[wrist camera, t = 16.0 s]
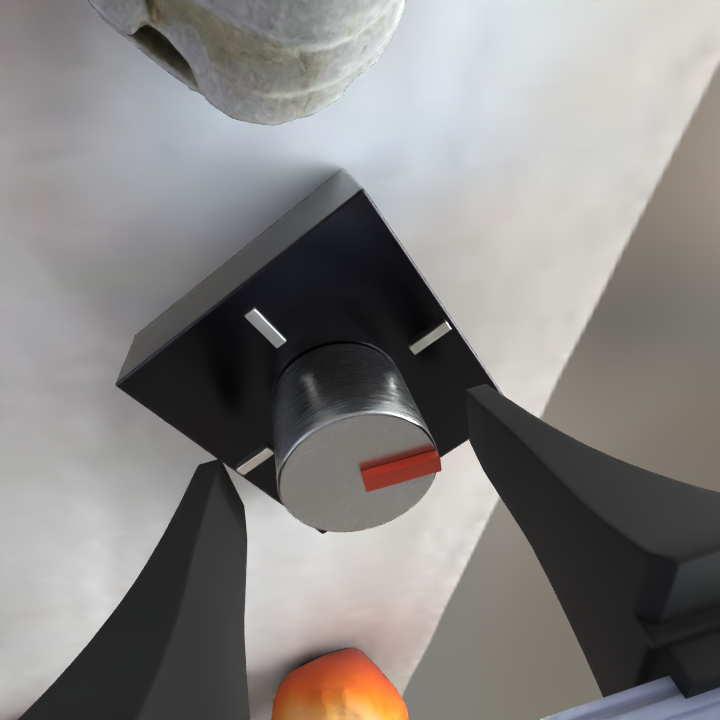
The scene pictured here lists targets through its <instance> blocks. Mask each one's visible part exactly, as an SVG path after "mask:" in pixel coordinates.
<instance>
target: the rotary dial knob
mask: <svg viewBox="0 0 720 720" xmlns="http://www.w3.org/2000/svg"><path fill="white" fill-rule="evenodd" d="M271 411H272V424H273V437H274V450H275V464H276V477H277V488H278V493H279V497H280V499H281V501H282V503H283V505H284V507H285V508H286V509H287V510H288V512H289V513H290V514H291V515H292V516H293V517H295V518H296V519H297V520H299V521H300V522H302V523H304V524H306V525H308V526H310V527H313V528H316V529H320V530H324V531H331V532H354V531H360V530H365V529H369V528H373V527H376V526H379V525H382V524H385V523H387V522H389V521H391V520H393V519H395V518H397V517H399V516H401V515H402V514H404V513H405V512H407V511H408V510H409V509H410V508H412V507H413V506H414V505H415V504H416V503H417V502H418V501H419V500H420V499H421V498H422V497H423V496H424V495H425V493H426V492H427V491H428V489H429V488H430V486H431V484H432V482H433V480H434V478H435V475H436V472H439V471H441V461H440V456H439V454H438V452H437V448H436V445H435V442H434V440H433V438H432V436H431V434H430V432H429V430H428V428H427V426H426V424H425V422H424V420H423V418H422V416H421V414H420V412H419V410H418V408H417V406H416V404H415V402H414V400H413V398H412V396H411V394H410V392H409V390H408V388H407V386H406V384H405V382H404V380H403V378H402V376H401V374H400V372H399V370H398V369H397V367H396V366H395V364H394V363H393V362H392V361H391V360H390V359H389V358H388V357H386V356H385V355H384V354H382V353H380V352H379V351H377V350H374V349H372V348H370V347H366V346H363V345H357V344H333V345H328V346H324V347H321V348H318V349H315V350H313V351H311V352H308V353H306V354H305V355H303V356H301V357H300V358H298V359H297V360H296V361H295V362H293V363H292V364H291V365H290V366H289V367H288V368H287V369H286V370H285V371H284V373H283V374H282V375H281V377H280V378H279V380H278V382H277V383H276V386H275V388H274V391H273V395H272V401H271Z"/></svg>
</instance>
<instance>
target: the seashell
mask: <svg viewBox="0 0 720 720" xmlns="http://www.w3.org/2000/svg"><path fill="white" fill-rule="evenodd" d="M88 2H89V3H90V5H91V6H92V8H93V9H94V10H95V11H96V12H97V13H98V14H99V15H100V16H101V17H102V18H103V19H104V20H105V21H106V22H107V23H108V24H109V25H110V26H111V27H113V28H114V29H115V30H116V31H117V32H118V33H120V34H121V35H122V36H123V37H125V38H126V39H127V40H129V41H130V42H131V43H132V44H134V45H135V46H136V47H137V48H138V49H140V50H141V51H142V52H143V53H144V54H146V55H147V56H148V57H149V58H151V59H152V60H153V61H154V62H156V63H157V64H158V65H160V66H161V67H162V68H163V69H164V70H166V71H167V72H168V73H170V74H171V75H172V76H174V77H175V78H177V79H178V80H180V81H181V82H183V83H184V84H186V85H187V86H188V87H189V88H190V89H191V90H193V91H197V92H199V93H201V94H202V95H203V96H204V97H205V98H206V99H207V101H208V102H209V103H210V104H211V105H213V106H214V107H215V108H217V109H219V110H220V111H222V112H223V113H225V114H226V115H228V116H229V117H231V118H233V119H237V120H241V121H246V122H250V123H255V124H262V125H272V126H273V125H278V124H282V123H286V122H289V121H292V120H295V119H299V118H303V117H307V116H310V115H312V114H314V113H316V112H318V111H320V110H322V109H324V108H326V107H327V106H329V105H330V104H332V103H333V102H334V101H336V100H337V99H338V98H339V97H340V96H342V95H343V93H344V91H345V89H346V87H347V86H348V85H349V84H350V83H351V82H352V80H353V79H355V78H356V77H357V76H358V75H360V74H361V73H363V72H364V71H365V69H367V68H368V67H370V66H371V65H373V64H374V63H375V62H376V61H377V60H378V59H379V58H380V56H381V55H382V54H383V53H384V51H385V49H386V48H387V46H388V44H389V42H390V40H391V38H392V36H393V35H394V33H395V30H396V28H397V26H398V23H399V21H400V18H401V15H402V12H403V9H404V6H405V2H406V0H88Z"/></svg>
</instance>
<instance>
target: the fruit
mask: <svg viewBox="0 0 720 720" xmlns="http://www.w3.org/2000/svg"><path fill="white" fill-rule="evenodd" d="M271 720H408V714H407V709H406V706H405V703H404V701H403V700H402V698H401V696H400V695H399V693H398V691H397V690H396V688H395V687H394V686H393V684H392V683H391V682H390V681H389V680H388V679H387V677H386V676H385V675H384V674H383V673H382V672H381V670H380V669H379V668H378V667H377V666H376V665H375V664H374V663H373V662H372V661H371V660H370V659H369V658H368V657H367V656H366V655H365V654H364V653H363V652H361V651H360V650H358V649H356V648H346V649H342V650H339V651H336V652H332V653H329V654H326V655H323V656H321V657H319V658H317V659H315V660H313V661H311V662H309V663H307V664H305V665H303V666H300V667H298V668H296V669H294V670H292V671H291V672H289V673H288V675H287V676H286V677H285V678H284V680H283V681H282V682H281V684H280V685H279V687H278V689H277V692H276V694H275V697H274V700H273V709H272V719H271Z"/></svg>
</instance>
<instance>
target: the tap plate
mask: <svg viewBox="0 0 720 720" xmlns="http://www.w3.org/2000/svg"><path fill="white" fill-rule="evenodd" d="M333 344H357V345H363V346H366V347H370V348H372V349H374V350H377V351H379V352H380V353H382V354H384V355H385V356H386V357H388V358H389V359H390V360H391V361H392V362H393V363H394V364H395V366H396V367H397V369H398V370H399V372H400V374H401V376H402V378H403V380H404V382H405V384H406V386H407V388H408V390H409V392H410V394H411V396H412V398H413V400H414V402H415V404H416V406H417V408H418V410H419V412H420V414H421V416H422V418H423V420H424V422H425V424H426V426H427V428H428V430H429V432H430V434H431V436H432V438H433V440H434V442H435V445H436V448H437V452H438V454H439V456H440V458H441V457H442V456H444V455H445V454H447V453H448V452H450V451H451V450H453V449H454V448H456V447H458V446H459V445H461V444H462V443H464V442H465V441H467V440H468V439H469V428H468V414H467V400H466V389H470V388H473V387H477V386H480V385H484V384H487V385H488V386H490V387H491V388H493V389H494V390H496V391H497V392H499V393H500V394H502V392H501V391H500V389H499V388H498V386H497V385H496V383H495V382H494V380H493V379H492V377H491V376H490V374H489V373H488V371H487V370H486V368H485V367H484V365H483V364H482V363H481V361H480V360H479V358H478V357H477V355H476V354H475V352H474V351H473V349H472V348H471V346H470V345H469V343H468V342H467V340H466V339H465V337H464V336H463V334H462V333H461V331H460V330H459V329H458V327H457V326H456V324H455V323H454V321H453V320H452V318H451V317H450V315H449V314H448V312H447V311H446V309H445V308H444V306H443V305H442V303H441V302H440V300H439V299H438V297H437V296H436V294H435V293H434V292H433V290H432V289H431V287H430V286H429V284H428V283H427V281H426V280H425V278H424V277H423V275H422V274H421V272H420V271H419V269H418V268H417V266H416V265H415V263H414V262H413V260H412V259H411V258H410V256H409V255H408V253H407V252H406V250H405V249H404V247H403V246H402V244H401V243H400V241H399V240H398V238H397V237H396V235H395V234H394V232H393V231H392V229H391V228H390V226H389V225H388V224H387V222H386V221H385V219H384V218H383V216H382V215H381V213H380V212H379V210H378V209H377V207H376V206H375V204H374V203H373V201H372V200H371V198H370V197H369V195H368V194H367V192H366V191H365V190H364V189H363V187H362V186H361V185H360V184H359V183H358V182H357V181H356V180H355V179H354V178H353V177H352V176H351V175H350V174H349V173H348V172H347V171H346V170H345V169H344V168H343V169H341V170H340V171H339V172H337V173H336V174H335V175H334V176H332V177H331V178H330V179H329V180H327V181H326V182H325V183H324V184H322V185H321V186H320V187H319V188H318V189H316V190H315V191H314V192H313V193H311V194H310V195H309V196H308V197H306V198H305V199H304V200H303V201H301V202H300V203H299V204H298V205H296V206H295V207H294V208H293V209H292V210H290V211H289V212H288V213H287V214H285V215H284V216H283V217H282V218H280V219H279V220H278V221H277V222H275V223H274V224H273V225H272V226H270V227H269V228H268V229H267V230H266V231H264V232H263V233H262V234H261V235H259V236H258V237H257V238H256V239H254V240H253V241H252V242H251V243H249V244H248V245H247V246H246V247H244V248H243V249H242V250H241V251H239V252H238V253H237V254H236V255H235V256H233V257H232V258H231V259H230V260H228V261H227V262H226V263H225V264H223V265H222V266H221V267H220V268H218V269H217V270H216V271H215V272H213V273H212V274H211V275H210V276H209V277H207V278H206V279H205V280H204V281H202V282H201V283H200V284H199V285H197V286H196V287H195V288H194V289H192V290H191V291H190V292H189V293H187V294H186V295H185V296H184V297H183V298H181V299H180V300H179V301H178V302H176V303H175V304H174V305H173V306H171V307H170V308H169V309H168V310H166V311H165V312H164V313H163V314H161V315H160V316H159V317H158V318H157V319H155V320H154V321H153V322H152V323H150V324H149V325H148V326H147V327H145V328H144V329H143V330H142V331H140V332H139V333H138V334H137V335H135V337H134V340H133V342H132V345H131V347H130V350H129V352H128V355H127V357H126V359H125V362H124V364H123V367H122V369H121V372H120V374H119V377H118V379H117V382H116V386H117V387H118V388H120V389H121V390H122V391H124V392H125V393H127V394H128V395H129V396H131V397H132V398H134V399H135V400H136V401H138V402H139V403H141V404H142V405H143V406H145V407H146V408H148V409H149V410H150V411H152V412H153V413H155V414H156V415H157V416H159V417H160V418H162V419H163V420H164V421H166V422H167V423H168V424H170V425H171V426H173V427H174V428H175V429H177V430H178V431H180V432H181V433H182V434H184V435H185V436H187V437H188V438H189V439H191V440H192V441H194V442H195V443H196V444H198V445H199V446H201V447H202V448H203V449H205V450H206V451H208V452H209V453H210V454H212V455H213V456H215V457H216V458H217V459H221V460H222V462H223V463H224V464H226V465H227V466H228V467H230V468H231V469H233V470H234V471H235V472H237V473H238V474H240V475H241V476H242V477H244V478H245V479H247V480H248V481H249V482H251V483H252V484H254V485H255V486H256V487H258V488H259V489H261V490H262V491H263V492H265V493H266V494H268V495H269V496H270V497H272V498H273V499H275V500H276V501H277V502H279V503H280V504H282V505H283V503H282V501H281V499H280V497H279V493H278V488H277V477H276V464H275V450H274V437H273V424H272V411H271V401H272V395H273V391H274V388H275V386H276V383H277V382H278V380H279V378H280V377H281V375H282V374H283V373H284V371H285V370H286V369H287V368H288V367H289V366H290V365H291V364H292V363H293V362H295V361H296V360H297V359H298V358H300V357H301V356H303V355H305V354H306V353H308V352H311V351H313V350H315V349H318V348H321V347H324V346H328V345H333ZM502 395H503V394H502ZM503 396H504V395H503ZM283 506H284V505H283ZM315 529H316V528H315ZM316 530H318V531H319V532H321V533H322V534H324V533H325V532H327V531H324V530H320V529H316Z"/></svg>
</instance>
